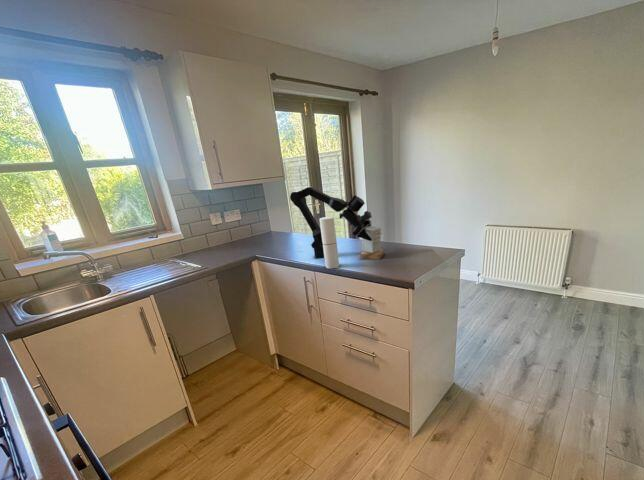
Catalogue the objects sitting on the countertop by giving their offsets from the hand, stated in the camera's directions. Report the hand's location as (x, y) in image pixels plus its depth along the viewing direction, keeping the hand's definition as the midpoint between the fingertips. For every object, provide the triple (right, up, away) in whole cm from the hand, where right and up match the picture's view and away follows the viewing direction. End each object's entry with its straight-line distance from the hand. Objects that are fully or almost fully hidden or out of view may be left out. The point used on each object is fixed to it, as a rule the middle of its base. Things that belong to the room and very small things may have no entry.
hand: (373, 238), depth 169 cm
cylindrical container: (-22, -16, -6) cm, 28 cm away
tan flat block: (0, -9, +4) cm, 10 cm away
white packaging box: (-1, -6, +4) cm, 7 cm away
